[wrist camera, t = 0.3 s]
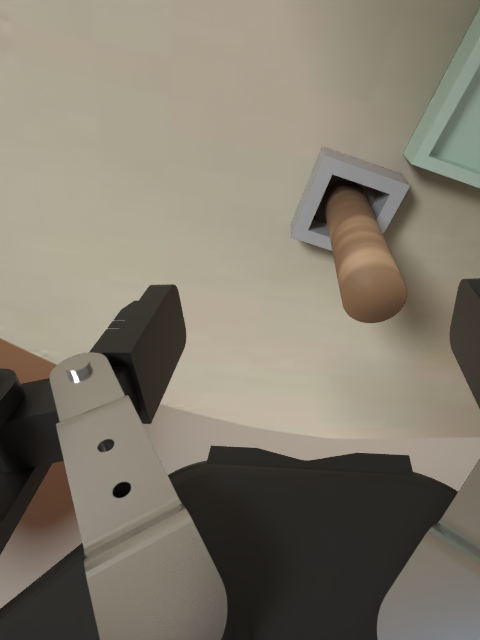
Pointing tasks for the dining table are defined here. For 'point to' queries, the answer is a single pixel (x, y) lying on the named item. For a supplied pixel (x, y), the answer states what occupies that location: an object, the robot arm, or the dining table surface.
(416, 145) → the tray
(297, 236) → the holder
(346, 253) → the dowel
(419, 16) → the dining table surface
